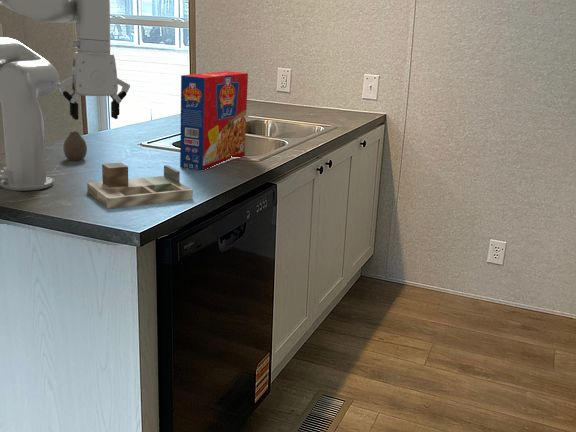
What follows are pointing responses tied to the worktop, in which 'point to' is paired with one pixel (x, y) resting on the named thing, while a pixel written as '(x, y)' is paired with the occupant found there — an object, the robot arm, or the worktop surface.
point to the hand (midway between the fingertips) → (95, 118)
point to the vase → (75, 147)
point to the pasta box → (212, 118)
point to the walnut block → (115, 174)
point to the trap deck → (142, 190)
